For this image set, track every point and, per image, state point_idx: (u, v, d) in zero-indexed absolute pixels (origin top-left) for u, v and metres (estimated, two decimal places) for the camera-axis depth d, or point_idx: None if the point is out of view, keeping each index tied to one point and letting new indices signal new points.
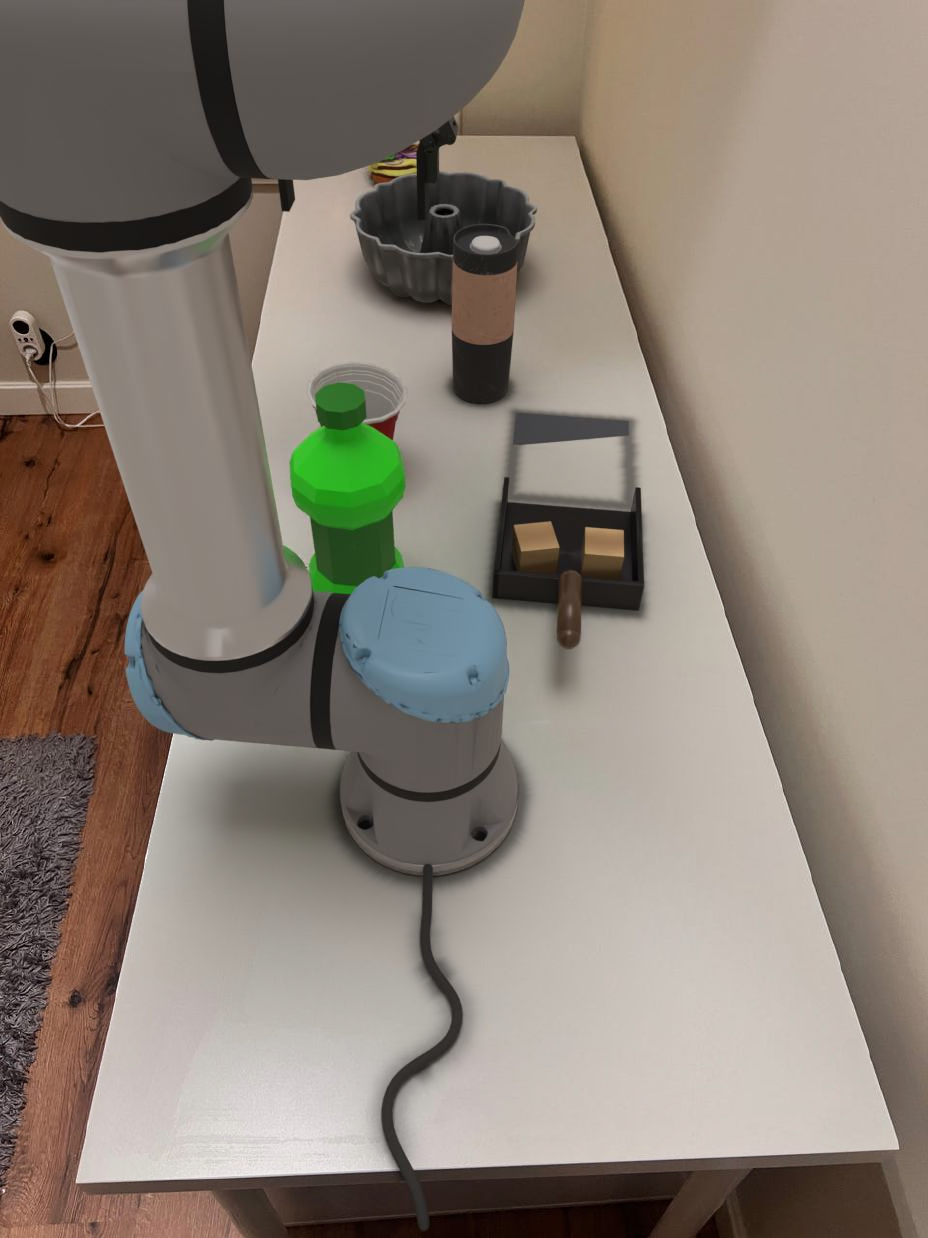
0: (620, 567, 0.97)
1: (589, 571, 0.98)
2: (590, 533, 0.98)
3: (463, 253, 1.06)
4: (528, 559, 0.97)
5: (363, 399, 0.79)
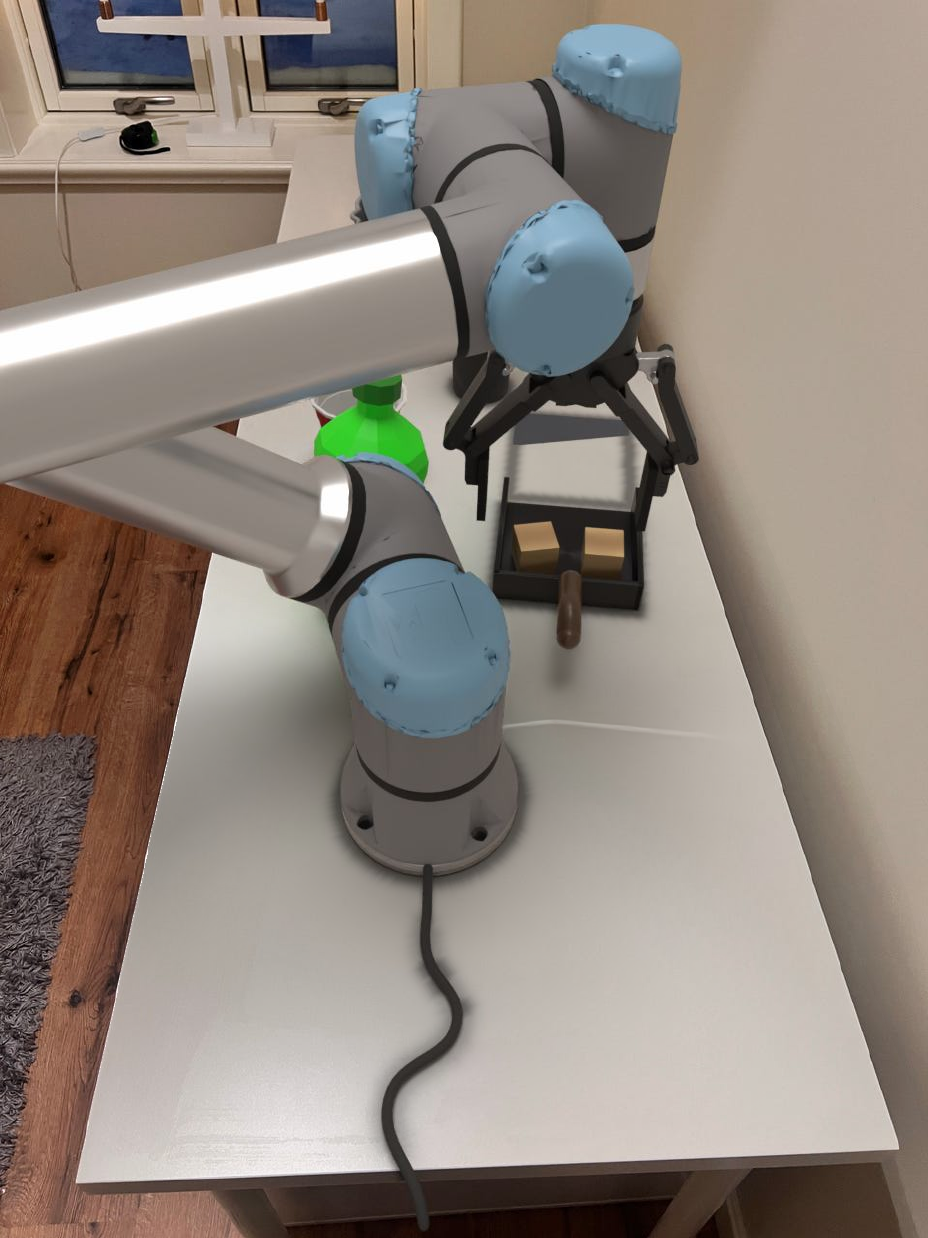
0: (620, 567, 0.97)
1: (589, 571, 0.98)
2: (590, 533, 0.98)
3: None
4: (528, 559, 0.97)
5: (400, 378, 0.81)
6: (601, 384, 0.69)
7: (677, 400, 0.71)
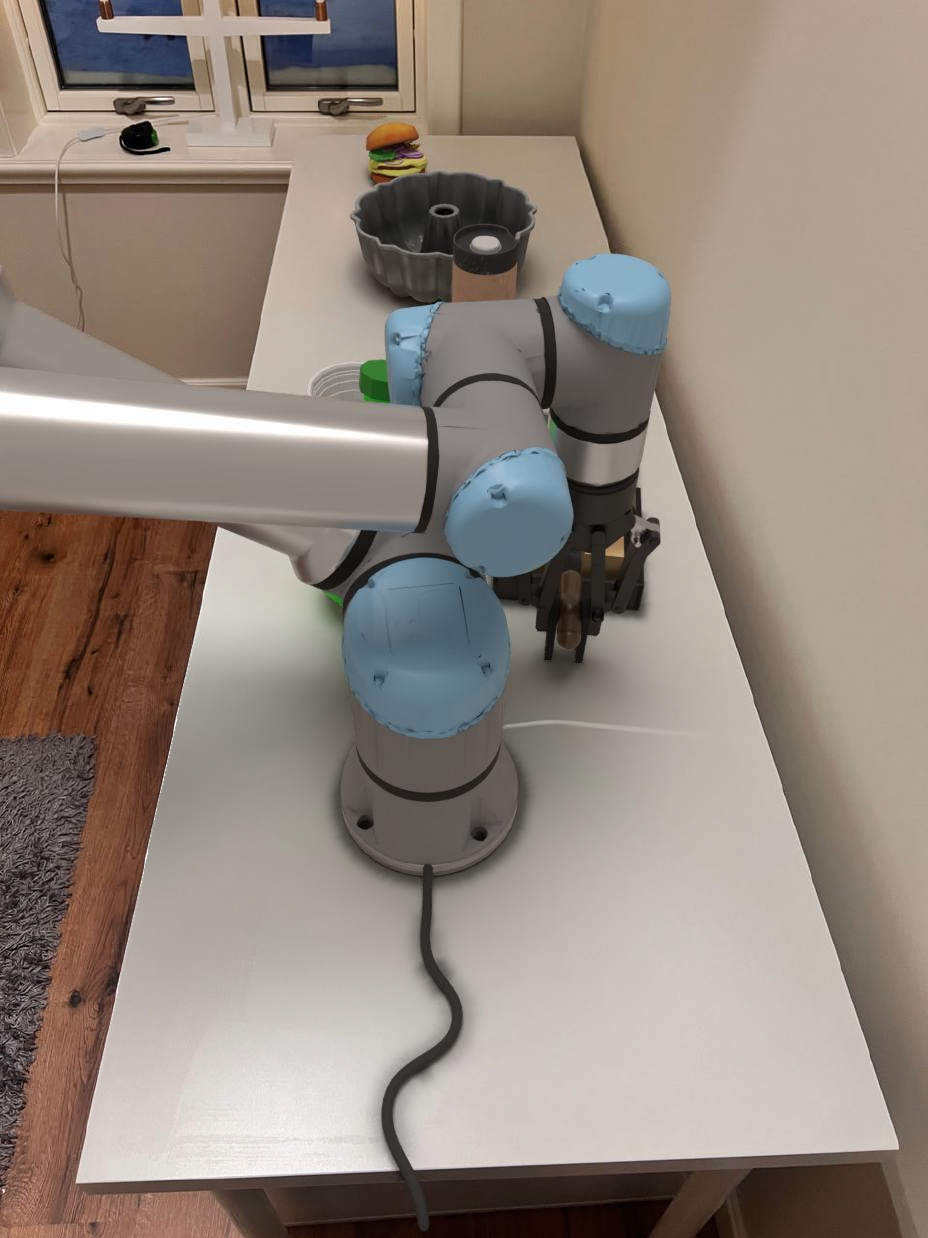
0: None
1: (589, 571, 0.98)
2: None
3: (463, 253, 1.06)
4: None
5: None
6: (599, 539, 0.78)
7: (642, 566, 0.81)
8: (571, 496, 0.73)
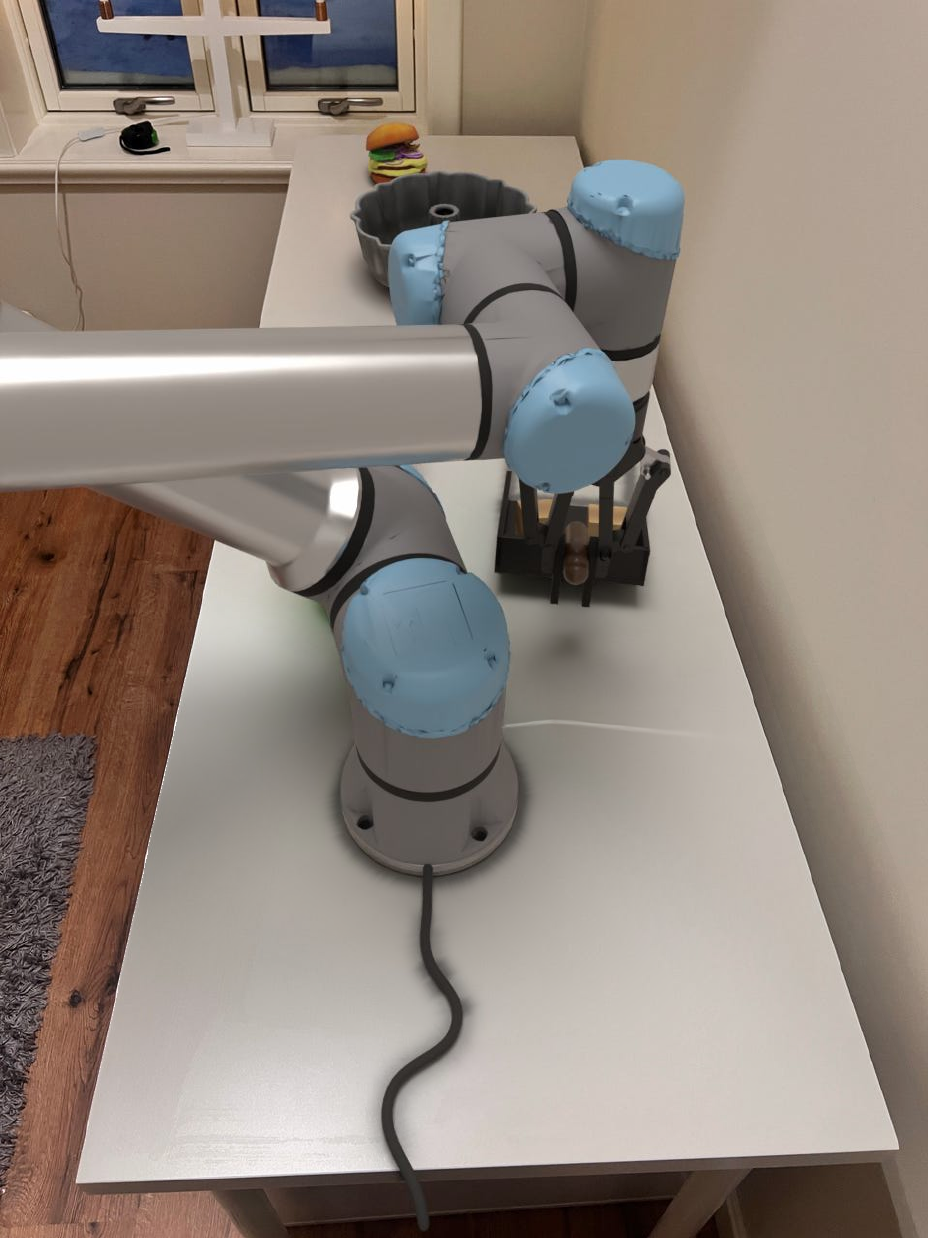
0: None
1: None
2: (593, 508, 0.98)
3: None
4: None
5: None
6: None
7: (651, 500, 0.78)
8: None
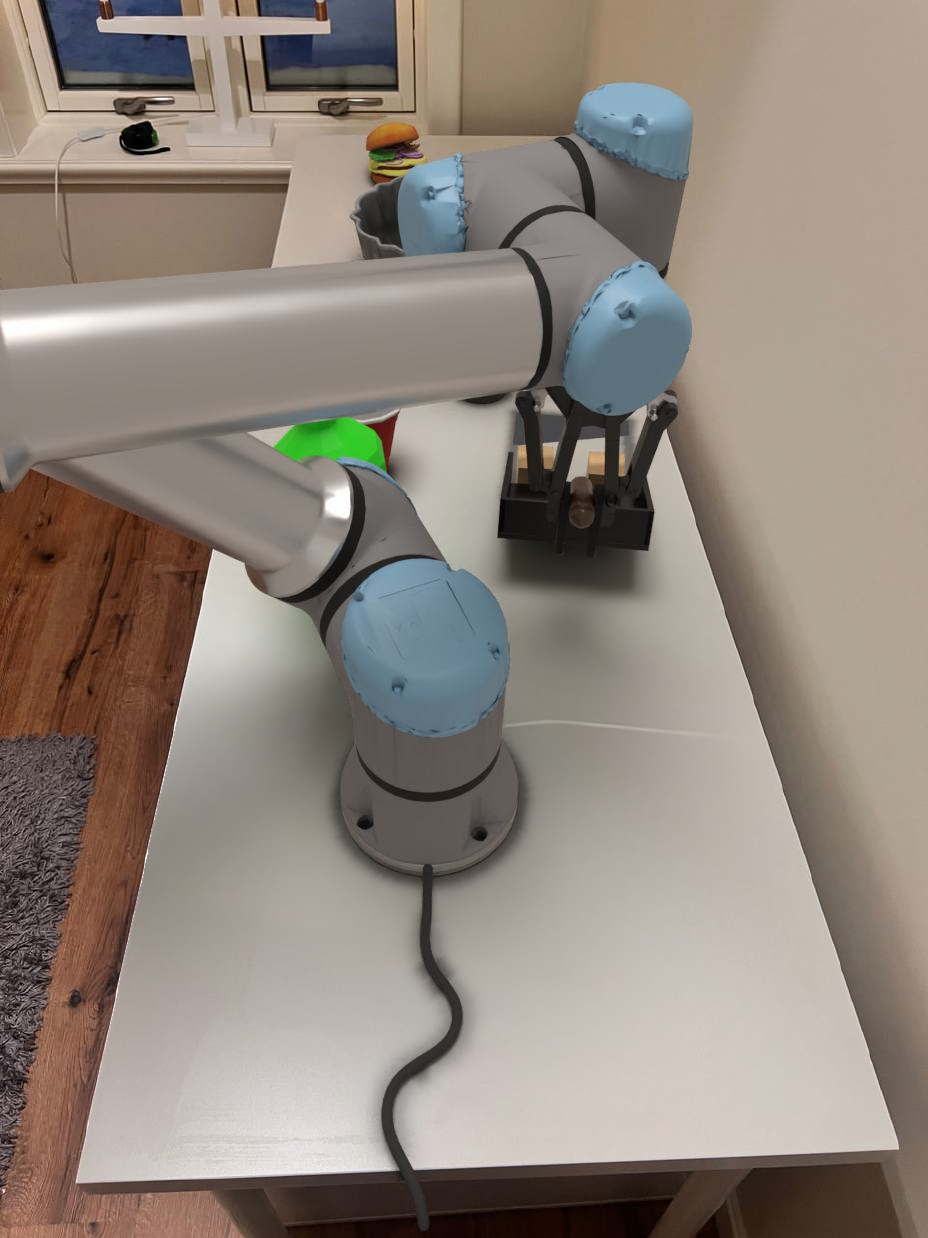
0: (623, 462, 1.07)
1: (595, 465, 1.06)
2: None
3: None
4: (525, 452, 1.08)
5: None
6: None
7: (658, 442, 0.77)
8: None
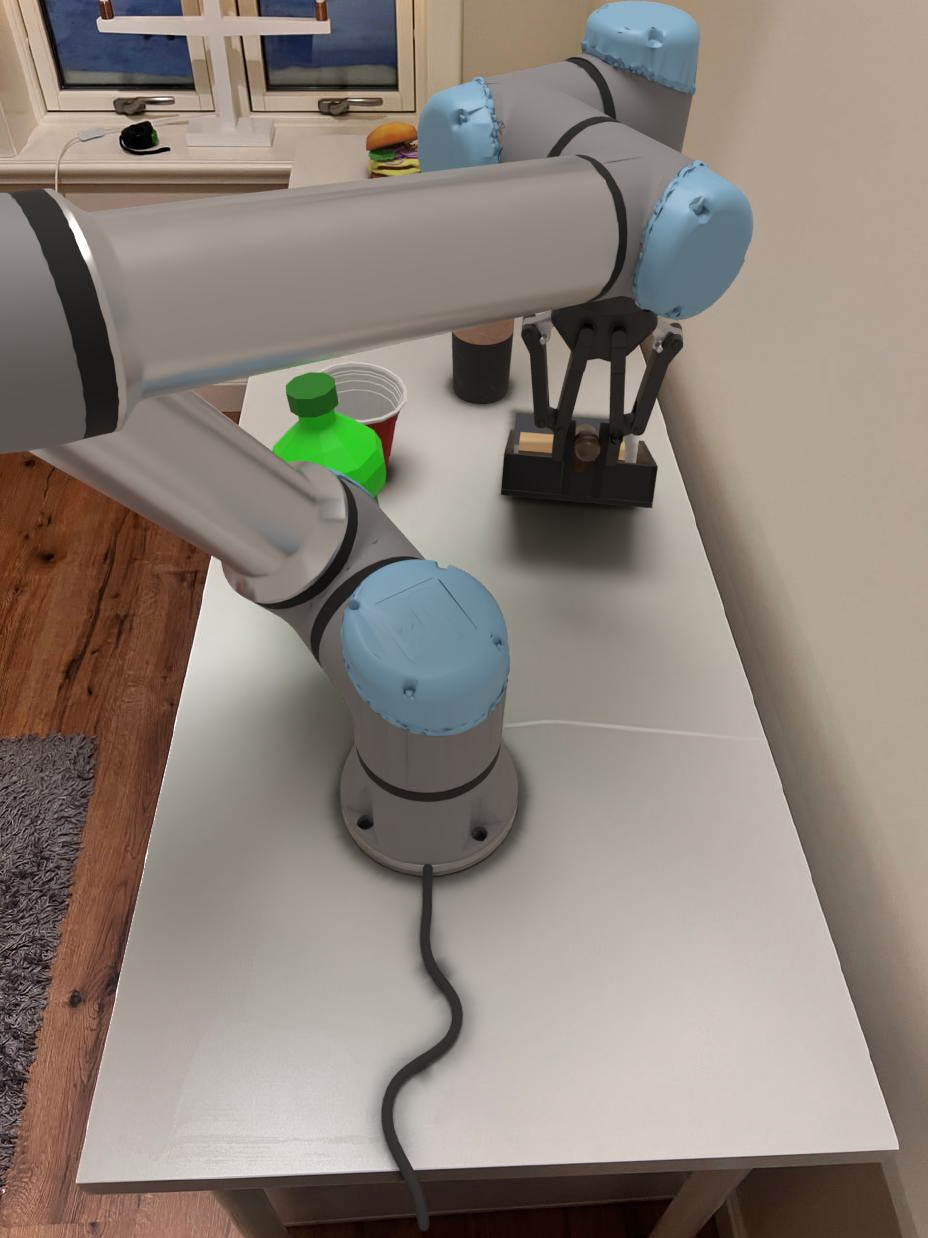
0: (623, 447, 1.08)
1: None
2: None
3: None
4: (527, 437, 1.09)
5: (332, 385, 0.79)
6: (620, 340, 0.75)
7: (663, 375, 0.78)
8: None
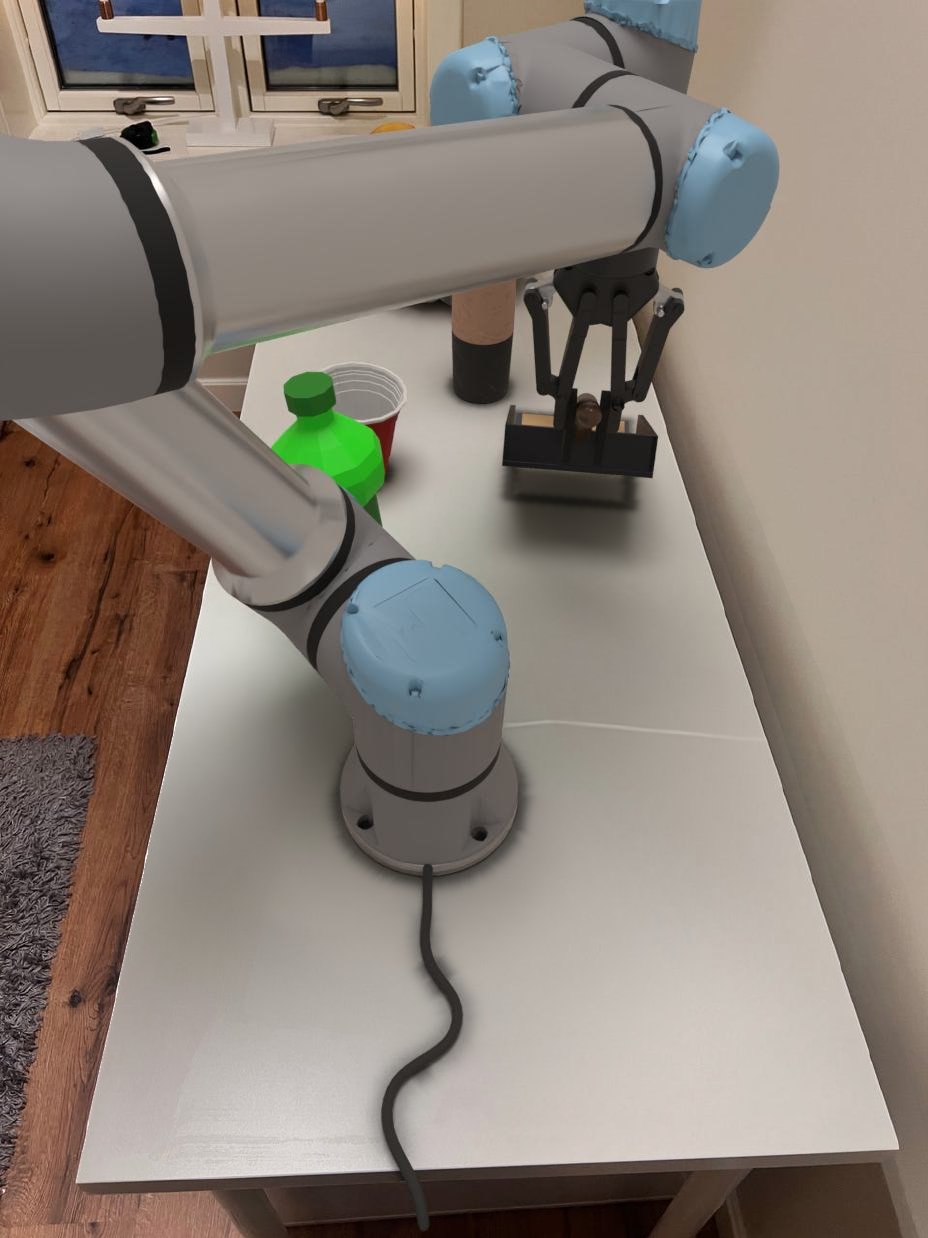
0: None
1: None
2: None
3: None
4: None
5: (330, 384, 0.79)
6: (622, 304, 0.76)
7: (664, 340, 0.78)
8: None
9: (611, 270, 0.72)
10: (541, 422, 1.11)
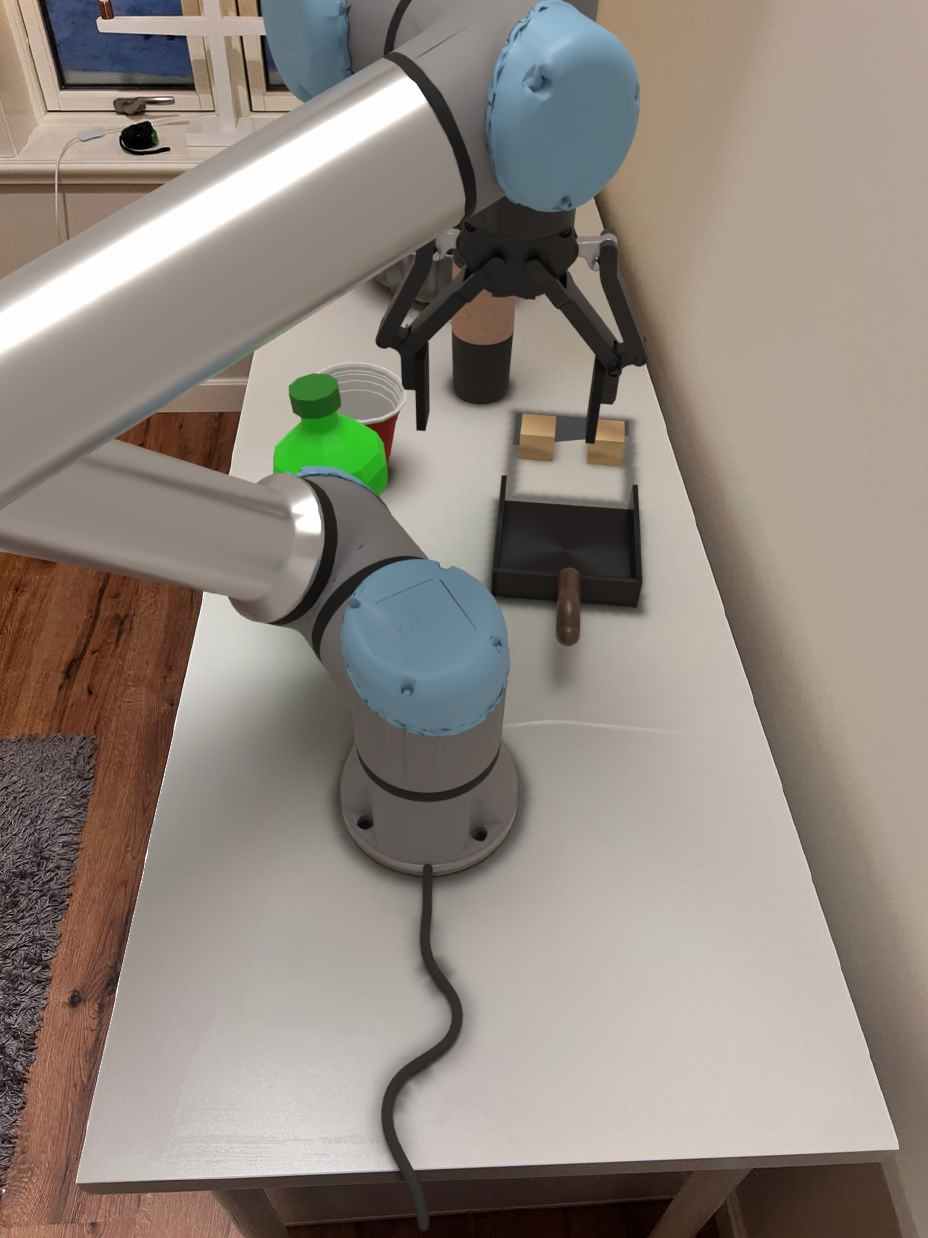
0: None
1: None
2: None
3: None
4: None
5: (335, 387, 0.79)
6: (537, 270, 0.65)
7: (621, 290, 0.66)
8: None
9: (517, 230, 0.61)
10: (541, 422, 1.11)
